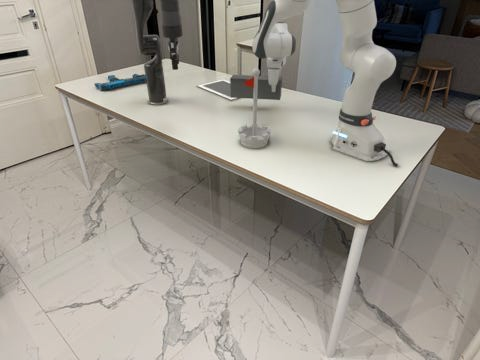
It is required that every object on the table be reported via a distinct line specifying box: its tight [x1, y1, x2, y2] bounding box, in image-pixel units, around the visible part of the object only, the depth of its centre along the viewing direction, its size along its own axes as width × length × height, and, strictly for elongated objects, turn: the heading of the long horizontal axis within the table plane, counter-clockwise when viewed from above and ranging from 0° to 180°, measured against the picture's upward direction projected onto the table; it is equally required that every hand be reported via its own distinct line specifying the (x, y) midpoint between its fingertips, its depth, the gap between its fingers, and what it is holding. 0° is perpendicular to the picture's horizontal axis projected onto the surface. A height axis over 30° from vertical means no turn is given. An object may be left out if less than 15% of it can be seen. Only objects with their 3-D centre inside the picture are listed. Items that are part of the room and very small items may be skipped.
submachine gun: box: [94, 73, 146, 91], centre depth 208 cm, size 34×4×25 cm
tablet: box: [197, 78, 239, 101], centre depth 197 cm, size 32×20×1 cm, turn 41°
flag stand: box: [238, 67, 272, 149], centre depth 132 cm, size 13×13×30 cm
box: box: [229, 74, 283, 101], centre depth 166 cm, size 24×6×10 cm, turn 78°
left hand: (175, 66), depth 138 cm, fingers open, 8 cm apart
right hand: (274, 89), depth 165 cm, fingers closed on box, 6 cm apart
